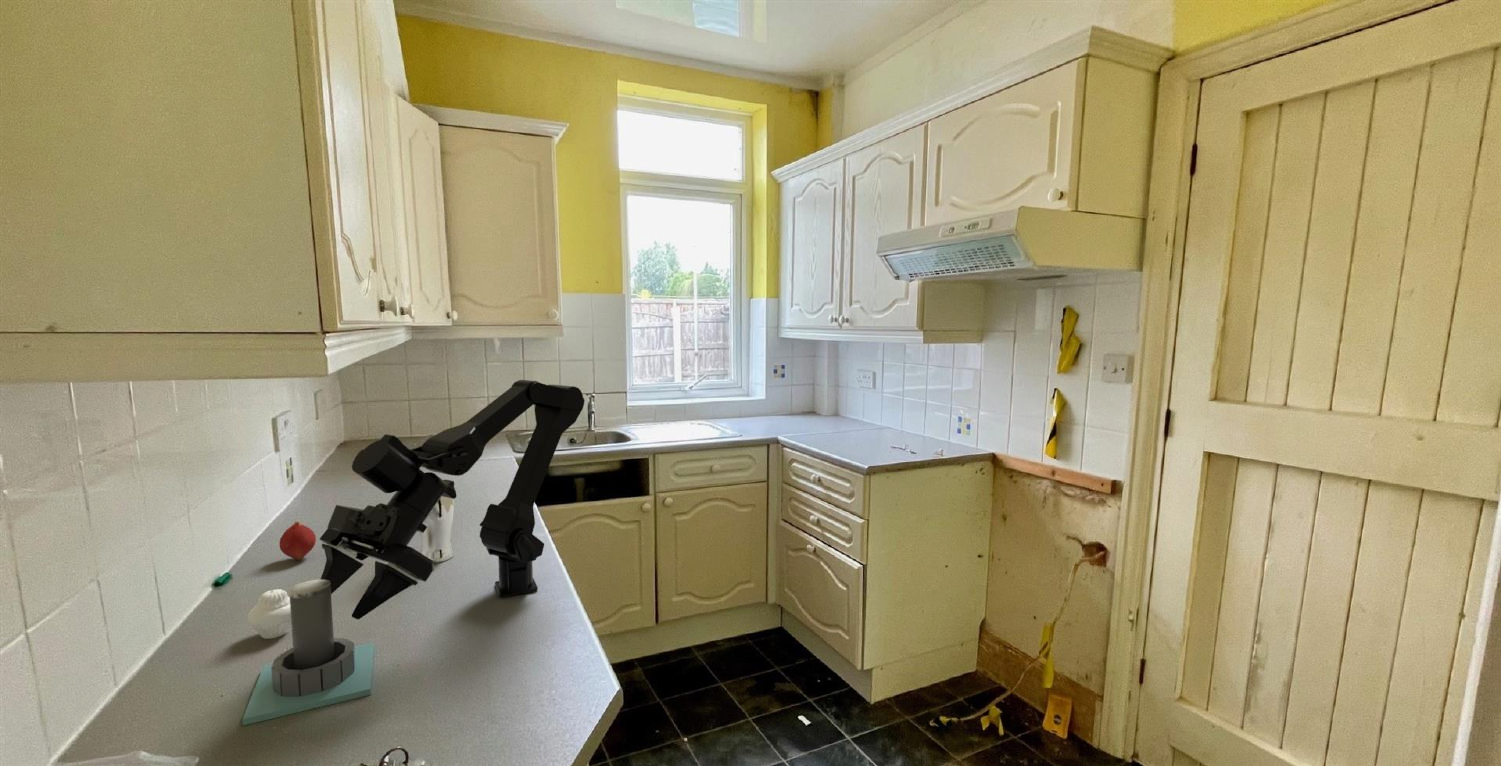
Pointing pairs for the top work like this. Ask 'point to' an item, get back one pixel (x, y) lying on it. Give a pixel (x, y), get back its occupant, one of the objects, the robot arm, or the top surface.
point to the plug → (312, 624)
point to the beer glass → (438, 531)
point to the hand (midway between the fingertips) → (334, 609)
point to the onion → (297, 541)
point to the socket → (311, 682)
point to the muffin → (271, 614)
